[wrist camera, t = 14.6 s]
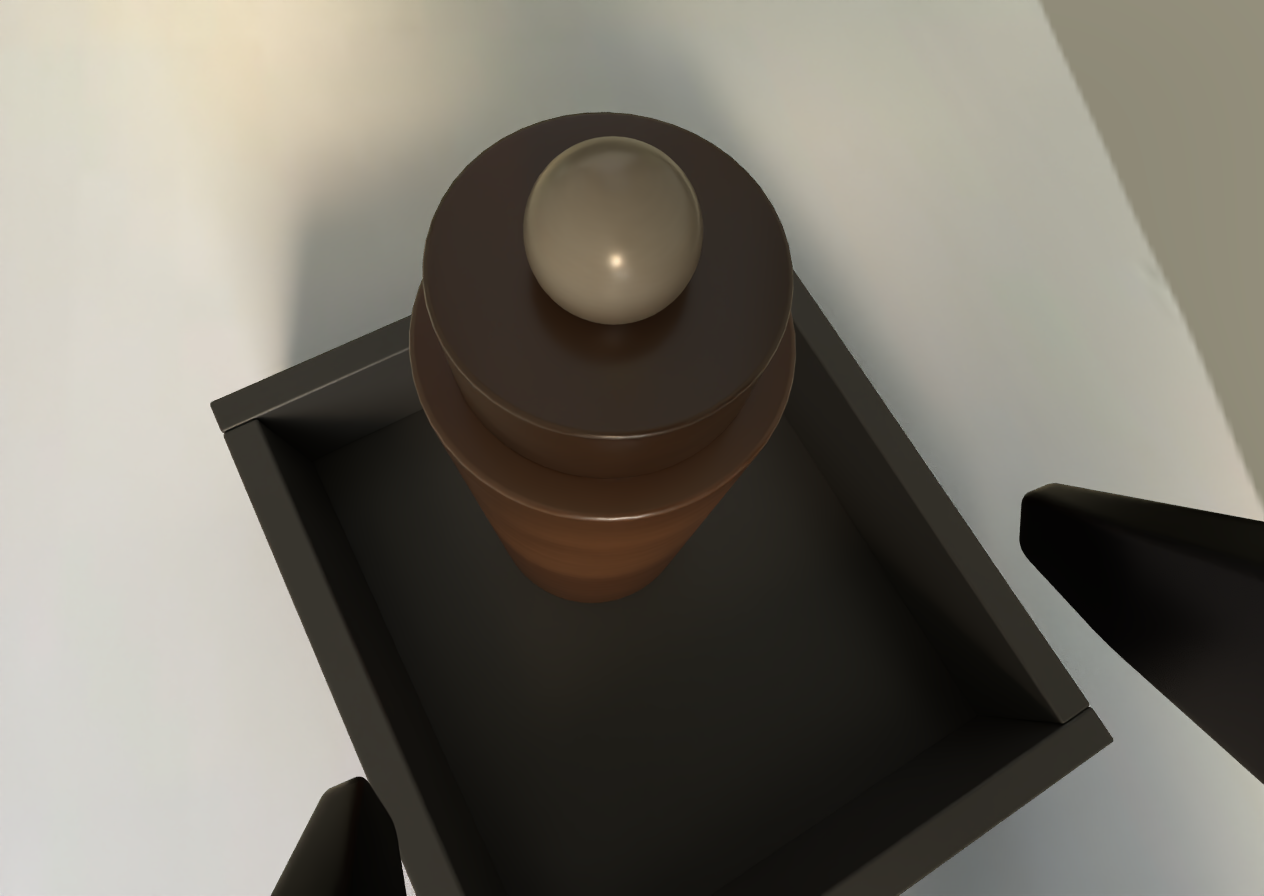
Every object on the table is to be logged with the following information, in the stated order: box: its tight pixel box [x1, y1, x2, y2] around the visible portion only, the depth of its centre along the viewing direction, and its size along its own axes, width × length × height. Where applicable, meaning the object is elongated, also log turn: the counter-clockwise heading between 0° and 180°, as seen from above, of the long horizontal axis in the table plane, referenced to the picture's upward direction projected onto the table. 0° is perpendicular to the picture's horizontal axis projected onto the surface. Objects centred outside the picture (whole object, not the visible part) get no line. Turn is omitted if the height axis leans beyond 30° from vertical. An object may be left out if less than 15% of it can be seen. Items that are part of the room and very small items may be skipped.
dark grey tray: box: [210, 270, 1113, 896], centre depth 17 cm, size 16×14×4 cm
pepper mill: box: [409, 112, 796, 603], centre depth 13 cm, size 5×5×14 cm
